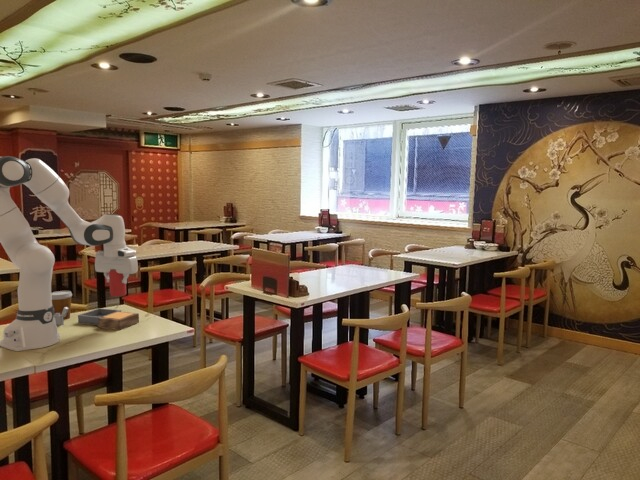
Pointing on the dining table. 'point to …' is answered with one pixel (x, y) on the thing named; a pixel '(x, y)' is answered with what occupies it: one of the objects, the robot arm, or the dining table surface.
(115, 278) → the beer can
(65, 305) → the disposable coffee cup
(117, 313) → the orange square panel
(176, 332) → the dining table surface
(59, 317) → the lighter
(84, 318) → the tray
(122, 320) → the checker stand
